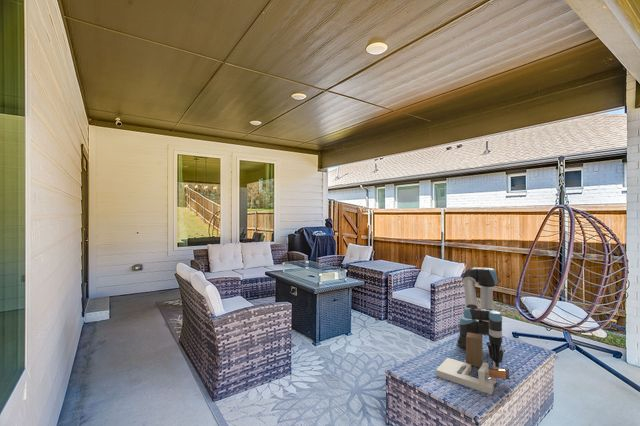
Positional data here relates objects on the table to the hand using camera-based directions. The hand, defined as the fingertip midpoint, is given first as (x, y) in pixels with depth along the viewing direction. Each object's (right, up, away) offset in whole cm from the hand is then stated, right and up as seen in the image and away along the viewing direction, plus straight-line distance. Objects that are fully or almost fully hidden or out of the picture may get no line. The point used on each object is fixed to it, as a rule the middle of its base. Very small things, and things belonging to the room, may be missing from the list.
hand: (495, 370), depth 202 cm
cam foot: (-5, -4, -5) cm, 9 cm away
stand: (-18, -5, +1) cm, 19 cm away
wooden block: (-4, -5, +19) cm, 20 cm away
